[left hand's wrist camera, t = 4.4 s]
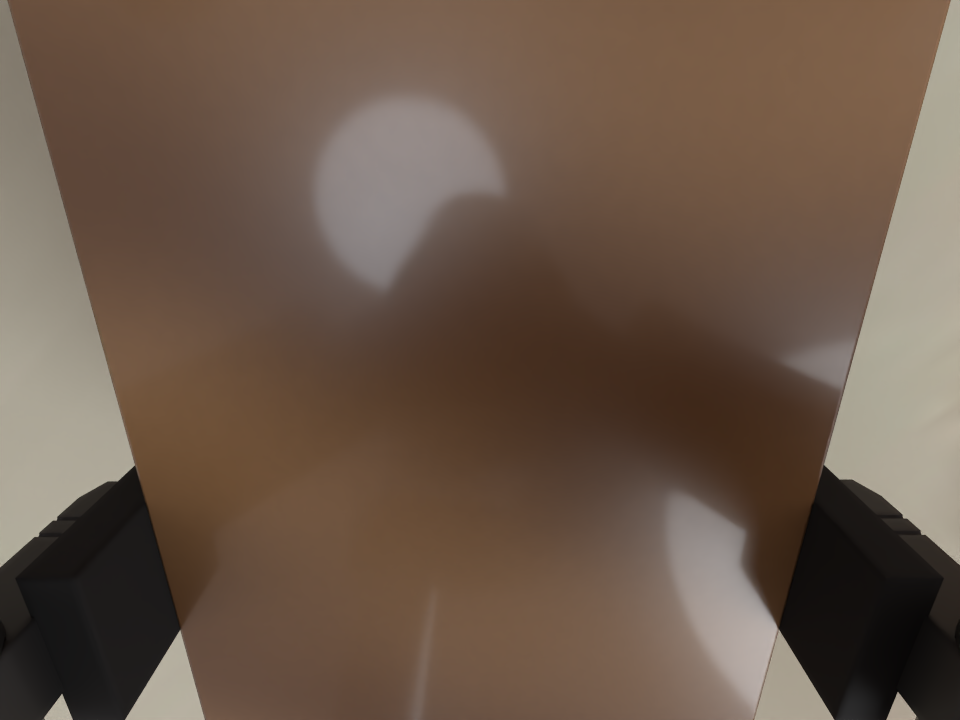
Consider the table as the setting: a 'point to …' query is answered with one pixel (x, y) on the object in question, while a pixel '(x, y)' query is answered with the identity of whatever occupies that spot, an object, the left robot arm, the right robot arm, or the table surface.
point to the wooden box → (479, 328)
